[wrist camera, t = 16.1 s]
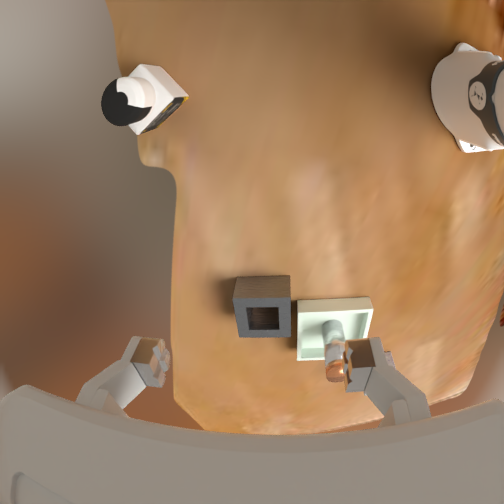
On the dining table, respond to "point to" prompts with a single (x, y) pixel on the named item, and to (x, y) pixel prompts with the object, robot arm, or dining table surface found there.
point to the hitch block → (263, 295)
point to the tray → (322, 310)
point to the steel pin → (333, 349)
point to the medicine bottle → (142, 99)
